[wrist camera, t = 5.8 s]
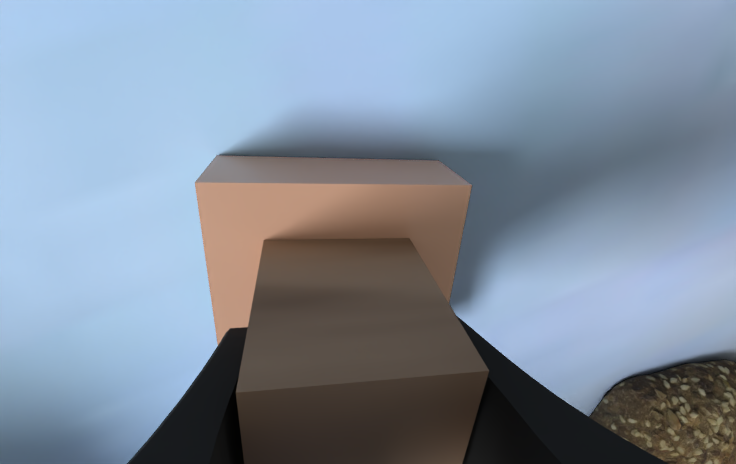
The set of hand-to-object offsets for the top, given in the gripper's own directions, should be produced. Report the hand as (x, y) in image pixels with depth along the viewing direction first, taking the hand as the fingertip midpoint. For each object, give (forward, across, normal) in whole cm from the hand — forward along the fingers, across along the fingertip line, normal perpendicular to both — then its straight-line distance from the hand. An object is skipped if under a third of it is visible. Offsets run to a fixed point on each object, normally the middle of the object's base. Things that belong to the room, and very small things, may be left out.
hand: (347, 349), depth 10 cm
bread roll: (+6, -23, +14) cm, 27 cm away
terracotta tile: (+5, 0, 0) cm, 5 cm away
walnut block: (+2, 0, 0) cm, 2 cm away
